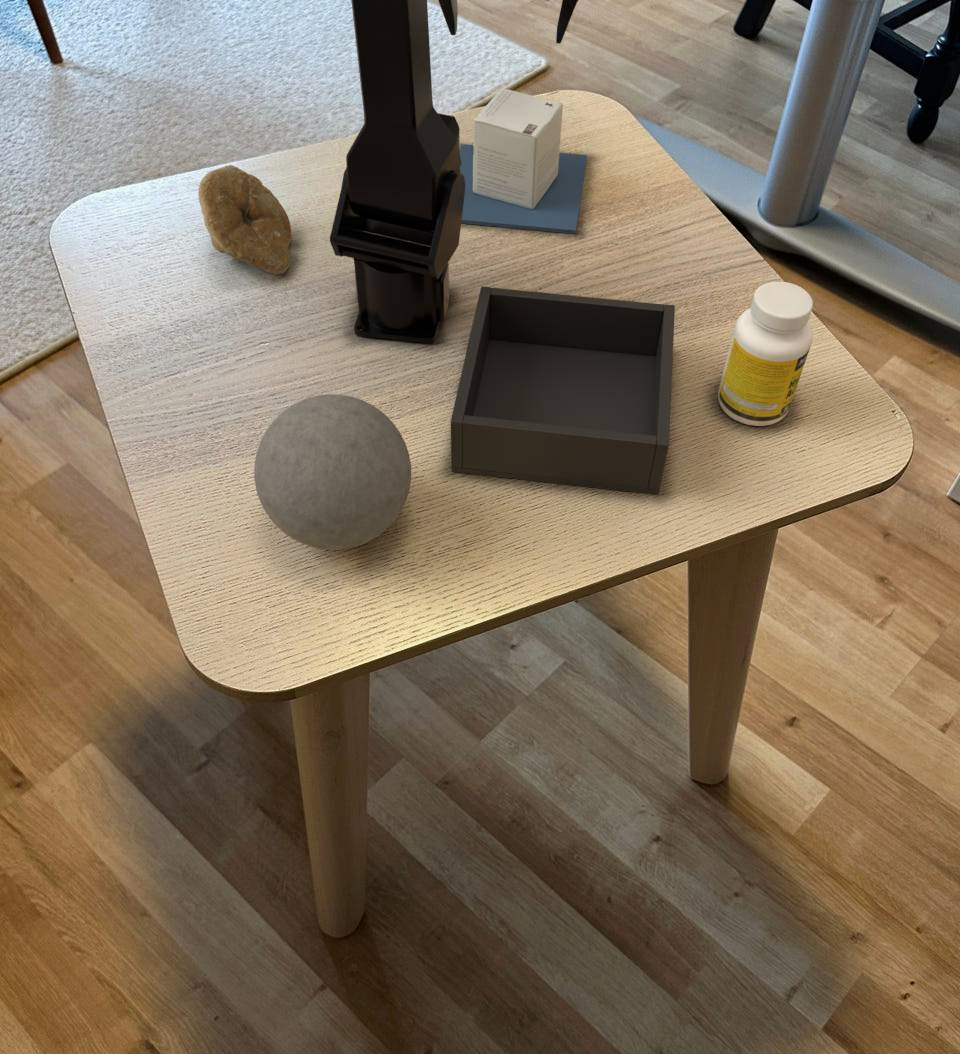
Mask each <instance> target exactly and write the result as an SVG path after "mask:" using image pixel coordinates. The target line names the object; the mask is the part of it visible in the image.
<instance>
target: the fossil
mask: <svg viewBox="0 0 960 1054" xmlns="http://www.w3.org/2000/svg"><path fill="white" fill-rule="evenodd" d="M197 196H198V202H199V206H200V209H201V215H202V216H203V221H204V222H203V223H204V226H205V229H206V230H207V233H208V234H209V235H210V241H211V244H212V246H213V247H214V248H215V250H216V251H217V252H219V253H222V254H226V255H228V256H230V257H231V258H232V259H234V260H237V261H239V262H241V263H245V264H246V265H249V266H252V267H254V268H256V269H257V270H260V271H261V272H263V273H265V274H268V275H281V274H284V273H285V272H286V271H288V270H289V268H290V266H291V259H292V258H291V253H290V250H289V247H290V244H291V242H292V238H293V236H292V233H293V232H292V231H293V230H292V226H291V221H290V219H289V215H288V214H287V211H286V210H285V208H284V207H283V206H282V204H281V203H280V200H279V199H278V198H277V197H276V196H275V195H274V194H273V192H272V191H271V190H270V189H269V188H268V187H266V186H265V185H263V182H262V181H261V180H260V179H259V178H258V177H256V176H255V175H253V174H250V173H248V172H246V171H245V170H244V169H243V170H242V169H240V168H239V167H238V166H234V165H231V164H229V165H225V166H223V167H219V168H216V169H213V170H210V171H209V172H207V173H206V174H205V175H204V176H203V177H202V178H201V180H200V182H199V186H198V193H197Z"/></svg>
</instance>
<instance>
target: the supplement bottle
mask: <svg viewBox="0 0 960 1054" xmlns="http://www.w3.org/2000/svg"><path fill="white" fill-rule="evenodd" d="M813 307H814V301H813V298H812V296H811V294H809V292H808V291H807V290H805V289H804V288H803V287H801V286H800V285H797V284H796V283H795V284H794V283H791V282H787V281H770V282H767V283H766V282H765V283H764V284H761V285H760V286H759V287H758V288H757V289H756V290H755V291H754V295H753V297H752V300H751V304H750V308H748V309H746V310H745V311H744V312H742V313H741V314H740V316H738V318H737V321H736V323H735V326H734V330H733V332H732V338H731V341H730V345H729V349H728V352H727V356H726V361H725V364H724V367H723V372H722V375H721V378H720V383H719V387H718V391H717V401H718V404H719V405H720V408H721V409H722V411H723V412H724V413H725V414H726V415H727V416H728V417H730V418H731V419H733V420H735V421H736V422H739V423H741V424H744V425H749V426H757V427H763V426H771V425H774V424H776V423H779V422H781V420H783V419H784V418H785V417H786V416H787V414H788V413H789V411H790V408H791V406H792V403H793V400H794V397H795V393H796V392H797V391H796V390H797V388H798V384H799V382H800V378H801V376H802V373H803V369H804V367H805V363H806V361H807V358H808V355H809V353H810V350H811V346H812V343H813V342H812V341H813V330H812V327H811V325H810V323H809V321H810V318H811V313H812V311H813Z"/></svg>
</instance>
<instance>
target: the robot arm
mask: <svg viewBox="0 0 960 1054" xmlns="http://www.w3.org/2000/svg"><path fill="white" fill-rule="evenodd" d="M350 2H351V11H352V19H353V29H354V37H355V46H356V55H357V64H358V73H359V82H360V83H359V84H360V92H361V99H362V100H361V101H362V109H363V123H364V124H363V125H362V126H361V128H360V131H359V133H358V134H357V135H356V137H355V139H354V141H353V143H352V145H351V146H350V148H349V150H348V152H347V153H346V155H345V158H346V159H345V160H346V161H345V163H346V167H345V170H344V171H343V175H342V181H341V188H340V193H339V196H338V201H337V204H336V205H337V206H336V209H335V214H334V218H333V223H332V227H331V232H330V235H329V243H330V245H331V248H332V250H333V253H334V255H335V257H341V258H342V257H345V258H346V257H347V258H350V259H353V266H354V267H353V268H354V276H355V277H354V278H355V288H356V298H357V308H358V313H357V317H356V320H355V323H354V325H353V331H354V334H355V335H356V336H359V337H368V338H378V339H388V340H396V341H397V340H398V341H406V342H417V343H427V344H431V343H434V342H435V341H436V338H437V335H438V330H439V327H440V324H442V323H443V322H445V320H446V317H447V312H448V309H449V304H450V271H449V269H450V268H449V267H450V266H449V265H450V264H449V262H450V260H451V258H452V257H453V256H454V254H455V252H456V251H457V249H458V247H459V244H460V237H461V228H462V223H461V221H462V213H463V204H464V195H465V178H464V175H463V174H461V173H460V167H461V163H462V162H461V158H460V151H459V150H460V131H461V130H460V129H461V128H460V125H459V123H458V121H457V119H456V117H455V116H454V115H449V114H444V113H439V112H437V110H436V108H435V107H434V103H433V86H432V85H433V84H432V67H431V65H432V64H431V49H430V48H431V47H430V30H429V27H430V26H429V12H428V11H429V10H428V9H429V7H428V0H350ZM437 2H438V4H439V6H440V10H441V12H442V15H443V17H444V19H445V23H446V26H447V28H448V32H449V34H450V35H451V36H456V34H457V31H458V19H459V18H458V15H459V9H458V0H437ZM578 2H579V0H562V1H561V6H560V10H559V15H558V20H557V25H556V35H555V44H559V45H560V44H562V42H563V39H564V36H565V33H566V31H567V28H568V26H569V23H570V21H571V19H572V16H573V14H574V11H575V8H576V6H577V4H578Z"/></svg>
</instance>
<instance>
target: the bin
mask: <svg viewBox="0 0 960 1054" xmlns="http://www.w3.org/2000/svg"><path fill="white" fill-rule="evenodd" d="M675 312H676V305H674V304H665V303H664V304H663V303H652V302H644V301H643V302H642V301H633V300H621V299H611V298H601V297H594V296H593V297H591V296H581V295H571V294H562V293H551V292H541V291H533V290H531V291H530V290H522V289H511V288H499V287H491V286H481V287H480V290H479V294H478V300H477V303H476V308H475V312H474V317H473V322H472V325H471V330H470V334H469V339H468V343H467V347H466V351H465V356H464V359H463V360H464V361H463V365H462V370H461V373H460V378H459V383H458V388H457V390H456V391H457V392H456V397H455V401H454V405H453V409H452V414H451V417H450V467H451V469H450V470H451V472H454V473H460V474H470V475H479V476H486V477H487V476H488V477H495V478H505V479H515V480H524V481H533V482H540V483H541V482H542V483H550V484H559V485H566V486H568V485H569V486H575V487H576V486H577V487H586V488H594V489H602V490H610V491H611V490H612V491H621V492H629V493H638V494H647V495H657V496H658V495H659V493H660V489H661V485H662V479H663V475H664V469H665V466H666V460H667V455H668V451H669V446H670V428H671V427H670V426H671V406H672V405H671V404H672V381H673V378H672V377H673V362H674V361H673V358H674V356H673V355H674V340H675V339H674V338H675V337H674V335H675V317H676V316H675V315H676V313H675Z"/></svg>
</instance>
